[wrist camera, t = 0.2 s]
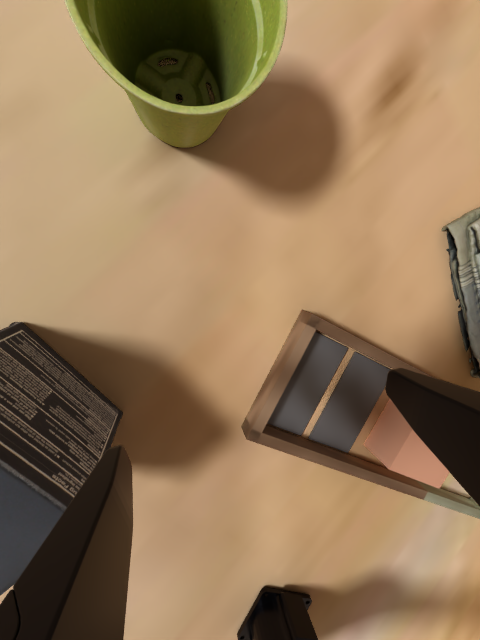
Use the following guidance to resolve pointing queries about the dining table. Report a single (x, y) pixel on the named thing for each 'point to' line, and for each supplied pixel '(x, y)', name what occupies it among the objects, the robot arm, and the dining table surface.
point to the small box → (43, 443)
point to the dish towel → (467, 278)
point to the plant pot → (183, 56)
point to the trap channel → (332, 406)
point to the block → (404, 449)
